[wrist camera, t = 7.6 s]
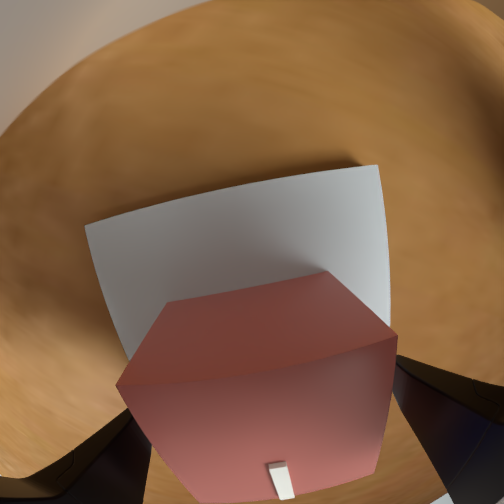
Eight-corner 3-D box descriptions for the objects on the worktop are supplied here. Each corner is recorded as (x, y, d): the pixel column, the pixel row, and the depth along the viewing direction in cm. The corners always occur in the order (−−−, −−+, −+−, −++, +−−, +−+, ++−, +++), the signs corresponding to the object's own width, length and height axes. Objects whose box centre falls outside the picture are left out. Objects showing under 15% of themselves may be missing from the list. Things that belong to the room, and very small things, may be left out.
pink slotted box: (328, 270, 10) (401, 338, 5) (336, 392, 12) (375, 476, 6) (167, 302, 10) (112, 390, 5) (209, 415, 12) (199, 507, 6)
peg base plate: (364, 167, 11) (431, 155, 6) (373, 408, 14) (403, 460, 9) (97, 222, 11) (29, 240, 6) (185, 443, 14) (175, 501, 9)
